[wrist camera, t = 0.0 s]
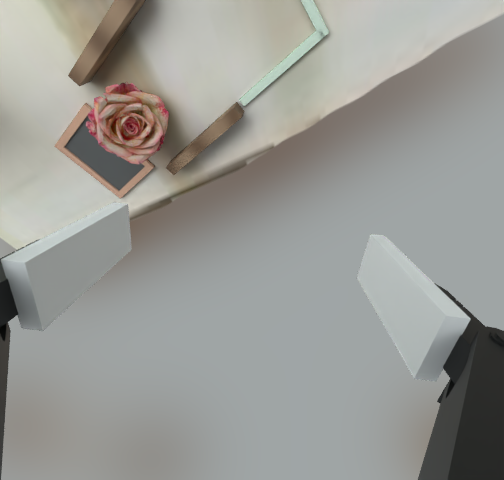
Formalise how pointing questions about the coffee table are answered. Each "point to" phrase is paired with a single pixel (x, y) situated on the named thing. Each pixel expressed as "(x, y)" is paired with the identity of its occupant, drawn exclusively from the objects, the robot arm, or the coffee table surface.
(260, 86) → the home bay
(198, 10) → the coffee table surface
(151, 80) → the coffee table surface
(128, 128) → the flower
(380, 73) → the coffee table surface
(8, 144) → the coffee table surface
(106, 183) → the framed chalkboard
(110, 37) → the brown slabs
